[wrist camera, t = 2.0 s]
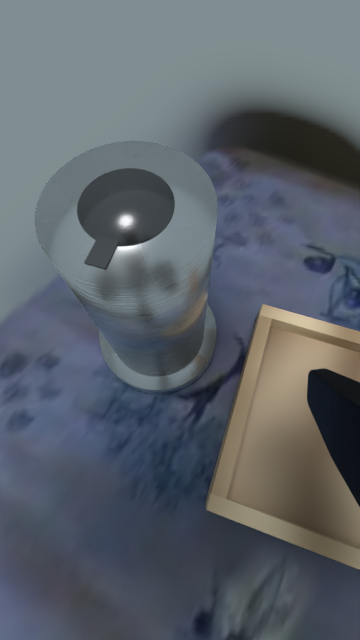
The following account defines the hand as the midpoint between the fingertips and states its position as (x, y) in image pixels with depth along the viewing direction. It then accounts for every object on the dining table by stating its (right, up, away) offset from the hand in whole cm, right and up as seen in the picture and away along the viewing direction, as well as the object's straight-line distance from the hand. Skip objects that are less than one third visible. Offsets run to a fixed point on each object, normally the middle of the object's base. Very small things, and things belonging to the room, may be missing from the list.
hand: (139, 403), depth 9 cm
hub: (0, +1, +14) cm, 14 cm away
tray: (+10, -5, +12) cm, 16 cm away
